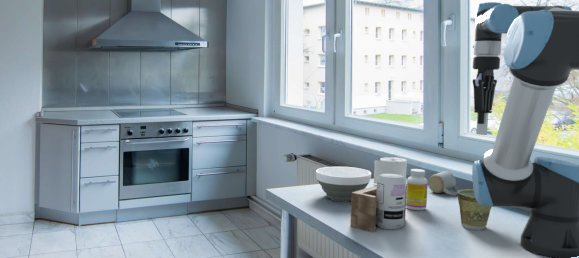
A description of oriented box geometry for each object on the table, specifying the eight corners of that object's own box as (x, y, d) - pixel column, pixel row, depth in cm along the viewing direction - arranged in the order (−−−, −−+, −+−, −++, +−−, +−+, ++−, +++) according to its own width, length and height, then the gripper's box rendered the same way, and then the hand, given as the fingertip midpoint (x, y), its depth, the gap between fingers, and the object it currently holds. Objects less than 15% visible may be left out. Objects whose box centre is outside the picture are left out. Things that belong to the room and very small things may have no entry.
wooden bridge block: (405, 219, 152) (406, 187, 150) (372, 232, 138) (373, 197, 137) (384, 214, 157) (385, 183, 156) (350, 226, 144) (351, 192, 142)
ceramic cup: (478, 234, 139) (481, 199, 138) (448, 224, 147) (450, 191, 146) (504, 226, 147) (506, 193, 145) (474, 218, 155) (476, 186, 153)
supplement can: (382, 219, 150) (384, 171, 149) (408, 225, 146) (410, 175, 144) (370, 226, 144) (372, 175, 142) (397, 232, 139) (399, 179, 137)
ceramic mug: (425, 191, 189) (427, 171, 188) (438, 188, 194) (439, 169, 193) (450, 197, 181) (452, 177, 180) (462, 194, 186) (464, 174, 185)
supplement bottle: (426, 211, 161) (429, 172, 159) (405, 210, 162) (407, 171, 160) (425, 206, 167) (427, 168, 166) (405, 205, 168) (407, 167, 167)
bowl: (312, 191, 186) (313, 166, 184) (364, 191, 186) (365, 166, 185) (317, 204, 166) (318, 177, 165) (375, 205, 167) (376, 177, 166)
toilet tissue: (410, 183, 201) (411, 159, 200) (395, 188, 193) (396, 163, 191) (387, 179, 209) (388, 156, 207) (372, 184, 200) (373, 159, 199)
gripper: (482, 57, 156) (478, 131, 158) (465, 55, 146) (460, 134, 149) (507, 56, 150) (502, 134, 153) (491, 55, 141) (485, 137, 144)
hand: (481, 134), depth 151 cm, fingers closed
